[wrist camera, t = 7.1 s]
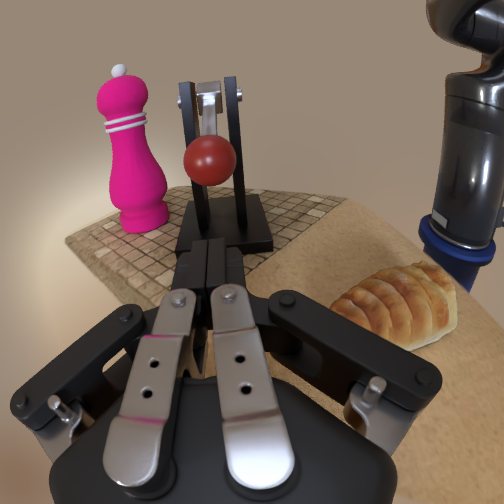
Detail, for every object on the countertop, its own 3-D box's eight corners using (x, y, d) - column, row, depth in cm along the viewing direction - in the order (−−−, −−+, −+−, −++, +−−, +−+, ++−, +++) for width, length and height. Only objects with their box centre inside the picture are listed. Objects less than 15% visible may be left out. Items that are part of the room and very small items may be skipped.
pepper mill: (184, 211, 36) (162, 55, 26) (150, 239, 31) (117, 56, 20) (142, 208, 39) (119, 69, 28) (108, 232, 33) (75, 76, 22)
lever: (239, 194, 19) (236, 152, 16) (187, 200, 19) (176, 159, 16) (229, 104, 27) (227, 74, 23) (194, 109, 26) (189, 78, 23)
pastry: (349, 386, 14) (364, 344, 12) (306, 311, 20) (309, 267, 18) (457, 334, 16) (477, 293, 14) (407, 281, 21) (417, 242, 19)
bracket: (273, 251, 27) (264, 72, 18) (177, 261, 26) (145, 87, 18) (258, 202, 37) (250, 78, 28) (189, 209, 37) (172, 87, 28)
